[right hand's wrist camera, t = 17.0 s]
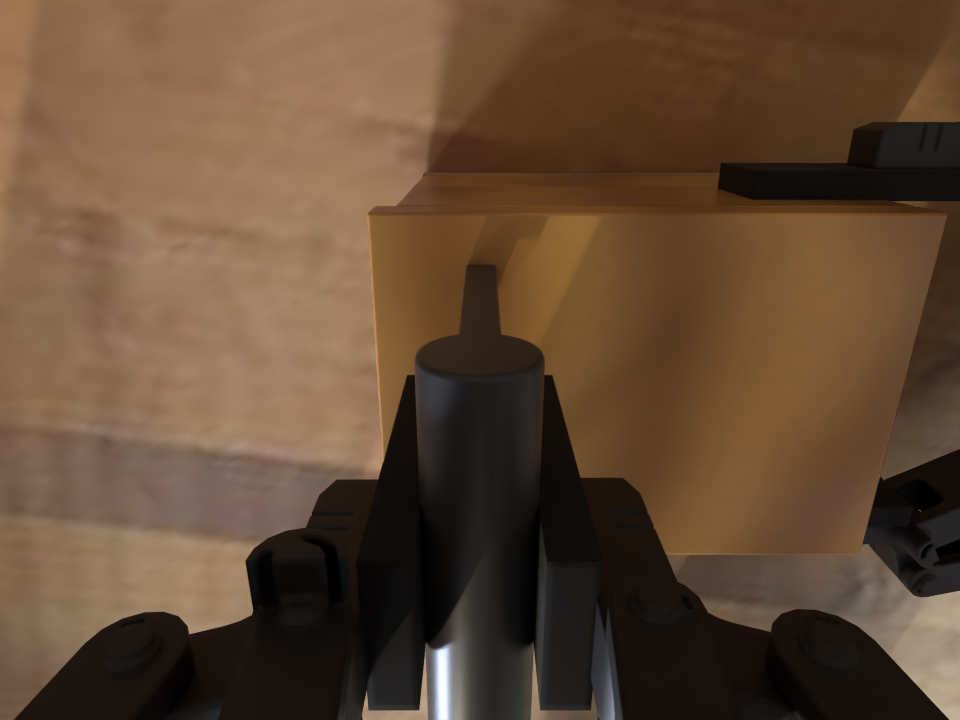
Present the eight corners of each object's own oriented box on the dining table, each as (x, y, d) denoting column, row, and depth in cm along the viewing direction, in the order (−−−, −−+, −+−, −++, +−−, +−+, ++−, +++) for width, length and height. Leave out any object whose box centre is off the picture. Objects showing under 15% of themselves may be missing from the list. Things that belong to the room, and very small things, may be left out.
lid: (392, 530, 19) (330, 817, 11) (373, 205, 16) (266, 298, 8) (840, 532, 19) (1085, 821, 11) (920, 206, 16) (1351, 301, 8)
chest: (431, 401, 28) (409, 530, 19) (425, 172, 24) (394, 205, 16) (729, 401, 28) (839, 531, 19) (764, 172, 24) (918, 205, 16)
